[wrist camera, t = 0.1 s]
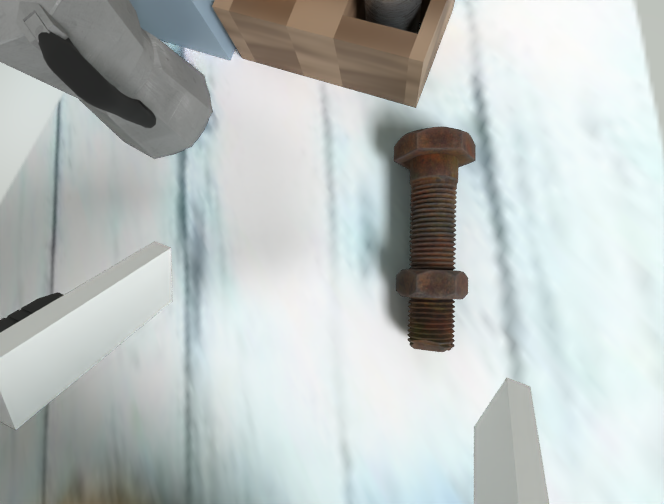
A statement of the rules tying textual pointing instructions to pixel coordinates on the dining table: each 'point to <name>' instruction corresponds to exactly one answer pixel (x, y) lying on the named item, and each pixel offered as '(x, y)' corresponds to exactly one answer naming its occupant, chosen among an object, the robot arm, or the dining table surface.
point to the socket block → (338, 43)
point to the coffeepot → (109, 69)
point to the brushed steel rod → (394, 13)
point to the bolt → (433, 232)
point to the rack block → (185, 25)
